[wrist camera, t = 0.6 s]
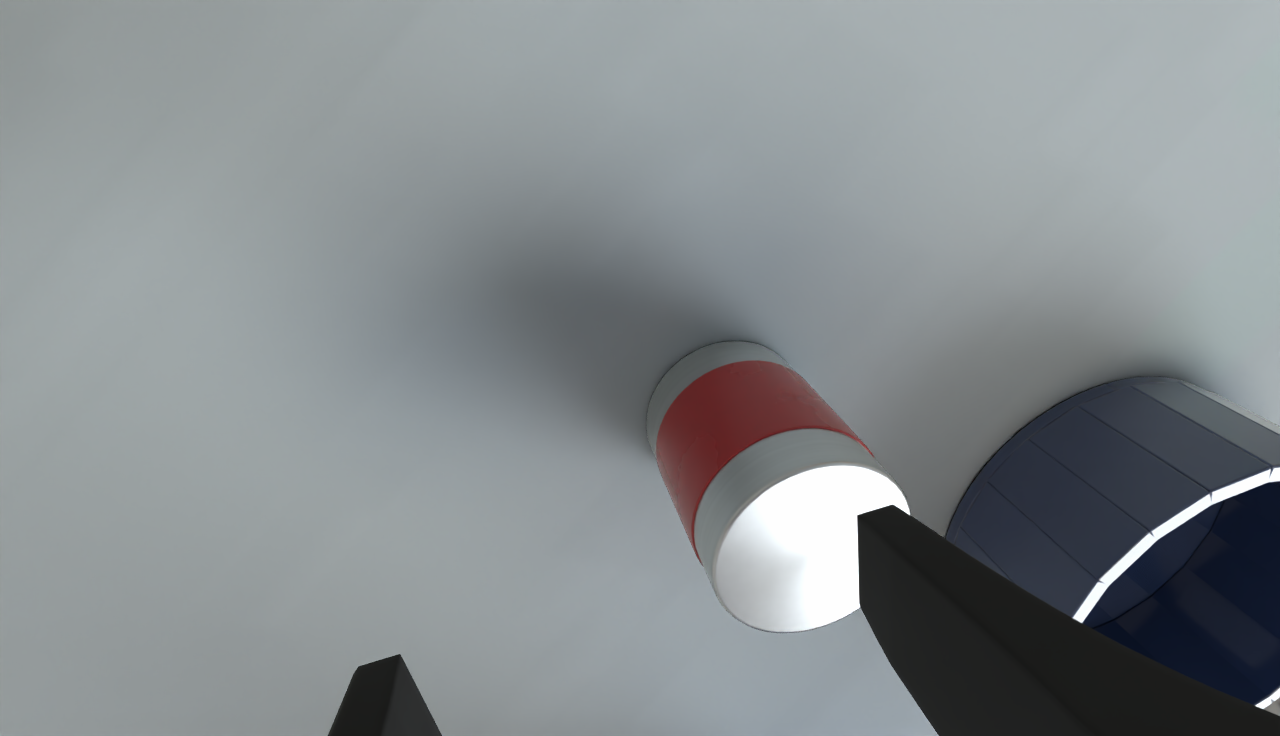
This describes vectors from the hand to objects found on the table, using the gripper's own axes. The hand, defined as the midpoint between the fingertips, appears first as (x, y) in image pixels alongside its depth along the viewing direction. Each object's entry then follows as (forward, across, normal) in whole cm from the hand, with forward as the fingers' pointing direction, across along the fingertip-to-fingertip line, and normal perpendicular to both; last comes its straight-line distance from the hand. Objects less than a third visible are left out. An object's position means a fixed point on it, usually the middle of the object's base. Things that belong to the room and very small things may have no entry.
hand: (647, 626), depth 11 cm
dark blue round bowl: (+10, -18, +13) cm, 24 cm away
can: (+10, -4, +4) cm, 11 cm away
